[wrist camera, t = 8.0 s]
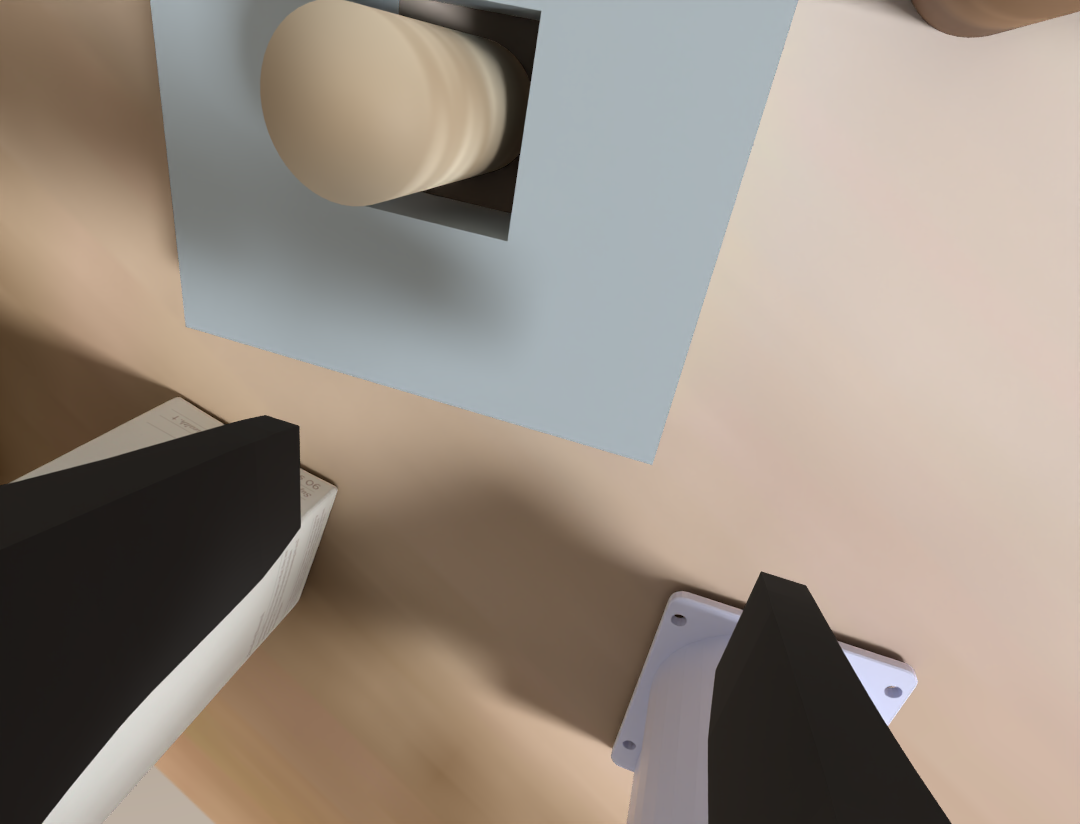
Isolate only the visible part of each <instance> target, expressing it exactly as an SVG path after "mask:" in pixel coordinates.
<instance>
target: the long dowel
mask: <svg viewBox="0 0 1080 824" xmlns="http://www.w3.org/2000/svg"><path fill="white" fill-rule="evenodd" d="M530 85H531V84H530V81H529V78H528V76H527V74H526V72H525V70H524V68H523V66H522V65H521V63H520V62H519V61H518V59H517V58H516V57H515V56H514V55H513V54H512V53H511V52H510V51H509V50H508V49H506V48H505V47H504V46H502V45H500V44H499V43H497V42H494V41H492V40H489V39H486V38H482V37H478V36H475V35H471V34H467V33H464V32H460V31H456V30H453V29H449V28H445V27H442V26H438V25H434V24H431V23H427V22H423V21H420V20H416V19H412V18H409V17H405V16H401V15H398V14H394V13H390V12H387V11H383V10H379V9H376V8H372V7H368V6H365V5H361V4H357V3H354V2H350V1H346V0H316V1H313V2H309V3H307V4H305V5H303V6H301V7H299V8H297V9H296V10H294V11H293V12H292V13H290V14H289V15H288V16H287V17H286V18H285V19H284V20H283V21H282V22H281V23H280V25H279V26H278V27H277V29H276V30H275V32H274V33H273V35H272V37H271V39H270V41H269V43H268V46H267V49H266V52H265V54H264V58H263V63H262V68H261V77H260V96H261V105H262V111H263V115H264V120H265V123H266V127H267V130H268V133H269V135H270V138H271V140H272V142H273V145H274V147H275V148H276V150H277V152H278V154H279V156H280V157H281V159H282V160H283V162H284V163H285V165H286V166H287V168H288V169H289V170H290V171H291V172H292V174H293V175H294V176H295V177H296V178H297V179H298V180H299V181H300V182H301V183H302V184H303V185H305V186H306V187H307V188H308V189H310V190H311V191H312V192H314V193H316V194H317V195H319V196H320V197H322V198H324V199H327V200H329V201H331V202H334V203H337V204H341V205H346V206H368V205H373V204H377V203H380V202H384V201H388V200H391V199H395V198H398V197H402V196H406V195H409V194H413V193H416V192H420V191H424V190H427V189H431V188H434V187H438V186H442V185H445V184H449V183H452V182H456V181H460V180H463V179H467V178H471V177H474V176H478V175H481V174H485V173H489V172H492V171H495V170H498V169H500V168H502V167H504V166H506V165H507V164H509V163H510V162H511V161H512V160H514V159H515V158H516V157H517V156H518V154H519V153H520V152H521V146H522V139H523V133H524V126H525V119H526V112H527V106H528V99H529V92H530Z"/></svg>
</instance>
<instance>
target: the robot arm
mask: <svg viewBox="0 0 1080 824" xmlns="http://www.w3.org/2000/svg"><path fill="white" fill-rule="evenodd" d="M300 528H301V496H300V436H299V426H298V425H295V424H292V423H288V422H285V421H282V420H279V419H276V418H273V417H269V416H266V415H264V416H259V417H254V418H249V419H245V420H241V421H237V422H233V423H230V424H226V425H222V426H218V427H215V428H211V429H208V430H204V431H201V432H197V433H194V434H190V435H187V436H183V437H180V438H177V439H173V440H170V441H166V442H163V443H159V444H156V445H152V446H149V447H145V448H142V449H138V450H135V451H131V452H128V453H124V454H121V455H117V456H114V457H110V458H107V459H103V460H99V461H95V462H91V463H87V464H83V465H80V466H76V467H72V468H68V469H64V470H60V471H56V472H52V473H48V474H45V475H41V476H37V477H33V478H29V479H25V480H21V481H17V482H13V483H8V484H4V485H0V824H42V823H43V822H44V820H45V819H46V818H47V817H48V815H49V814H50V813H51V811H52V810H53V809H54V808H55V806H56V805H57V804H58V803H59V801H60V800H61V799H62V797H63V796H64V795H65V794H66V792H67V791H68V790H69V788H70V787H71V786H72V785H73V784H74V782H75V781H76V780H77V779H78V778H79V776H80V775H81V774H82V773H83V771H84V770H85V769H86V768H87V767H88V765H89V764H90V763H91V762H92V760H93V759H94V758H95V757H96V756H97V754H98V753H99V752H100V751H101V750H102V748H103V747H104V746H105V745H106V743H107V742H108V741H109V740H110V739H111V737H112V736H113V735H114V734H115V733H116V731H117V730H118V729H119V728H120V726H121V725H122V724H123V723H124V722H125V721H126V720H127V719H128V717H129V716H130V715H131V714H132V713H133V712H134V711H135V710H136V709H137V708H138V707H139V705H140V704H141V703H142V702H143V701H144V700H145V699H146V698H147V697H148V696H149V695H150V693H151V692H152V691H153V690H154V689H155V688H156V687H157V686H158V685H159V684H160V683H161V682H162V681H163V680H164V679H165V678H166V677H167V676H168V675H169V674H170V673H171V672H172V671H173V670H174V669H175V668H176V667H177V666H178V665H179V664H180V663H181V662H182V661H183V660H184V659H185V658H186V657H187V656H188V655H189V654H190V653H191V652H192V651H193V650H194V649H195V648H196V647H197V646H198V645H199V644H200V643H201V642H202V641H203V640H204V639H205V638H206V637H207V636H208V635H209V634H210V633H211V632H212V631H213V630H214V629H215V628H216V627H217V626H218V624H219V623H220V622H221V621H222V620H223V619H224V618H225V617H226V616H227V615H228V614H229V613H230V612H231V611H232V610H233V609H234V608H235V607H236V606H237V605H238V604H239V603H240V602H241V601H242V600H243V599H244V598H245V597H246V596H247V595H248V594H249V593H250V592H251V590H252V589H253V588H254V587H255V586H256V585H257V584H258V583H259V582H260V581H261V580H262V579H263V578H264V576H265V575H266V574H267V572H268V571H269V570H270V569H271V567H272V566H273V565H274V563H275V562H276V561H277V560H278V558H279V557H280V556H281V554H282V553H283V552H284V550H285V549H286V547H287V546H288V545H289V543H290V542H291V541H292V539H293V538H294V536H295V535H296V534H297V532H298V531H299V529H300ZM676 614H679V615H682V616H684V618H677V617H676V616H674V615H676ZM917 683H918V681H917V677H916V674H915V671H914V669H913V668H912V667H911V666H910V665H908V664H906V663H904V662H901V661H898V660H895V659H892V658H889V657H885V656H882V655H879V654H876V653H873V652H870V651H867V650H864V649H861V648H858V647H855V646H852V645H849V644H846V643H843V642H839V641H837V639H836V638H835V636H834V634H833V632H832V630H831V629H830V627H829V625H828V623H827V622H826V620H825V618H824V616H823V614H822V613H821V611H820V609H819V607H818V606H817V604H816V602H815V600H814V598H813V597H812V595H811V593H810V592H809V590H808V588H807V586H806V585H802V584H799V583H796V582H793V581H790V580H787V579H783V578H780V577H777V576H774V575H771V574H768V573H764V572H761V573H760V575H759V577H758V579H757V581H756V584H755V586H754V588H753V590H752V592H751V594H750V597H749V599H748V601H747V603H746V605H745V607H744V610H741V609H738V608H735V607H732V606H729V605H726V604H723V603H720V602H717V601H714V600H711V599H708V598H705V597H702V596H699V595H695V594H692V593H689V592H685V591H678V592H675V593H673V594H672V595H671V596H670V598H669V600H668V603H667V605H666V608H665V610H664V613H663V616H662V618H661V621H660V624H659V626H658V629H657V632H656V634H655V637H654V640H653V642H652V645H651V648H650V650H649V653H648V655H647V658H646V661H645V663H644V666H643V669H642V671H641V674H640V677H639V679H638V682H637V685H636V687H635V690H634V693H633V695H632V698H631V701H630V703H629V706H628V708H627V711H626V714H625V716H624V719H623V722H622V724H621V727H620V730H619V732H618V735H617V738H616V740H615V743H614V746H613V748H612V754H611V758H612V760H613V762H614V763H615V764H616V765H618V766H620V767H622V768H625V769H627V770H630V771H633V772H634V777H633V784H632V790H631V797H630V804H629V811H628V817H627V824H951V822H950V821H949V819H948V818H947V816H946V815H945V813H944V812H943V810H942V809H941V807H940V806H939V804H938V803H937V801H936V800H935V798H934V797H933V795H932V794H931V792H930V791H929V789H928V788H927V786H926V785H925V784H924V782H923V781H922V779H921V778H920V776H919V775H918V773H917V772H916V770H915V769H914V767H913V765H912V764H911V762H910V761H909V759H908V758H907V756H906V755H905V753H904V751H903V750H902V748H901V747H900V745H899V744H898V742H897V740H896V739H895V737H894V736H893V734H892V732H891V731H890V729H889V728H888V725H889V724H890V722H891V721H892V719H893V718H894V717H895V715H896V714H897V712H898V711H899V710H900V708H901V707H902V705H903V704H904V703H905V701H906V700H907V698H908V697H909V696H910V694H911V693H912V691H913V690H914V689H915V687H916V685H917ZM889 686H896V687H895V688H887V687H889Z"/></svg>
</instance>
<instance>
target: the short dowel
mask: <svg viewBox="0 0 1080 824" xmlns="http://www.w3.org/2000/svg"><path fill="white" fill-rule="evenodd" d="M911 1H912V3H913V5H914V7H915V9H916V11H917V12H918V13H919V14H920V16H921V17H922V18H923V19H924V20H925V21H926V22H927V23H928V24H929V25H931V26H932V27H934V28H935V29H937V30H939V31H941V32H944V33H946V34H949V35H953V36H957V37H967V38H970V37H983V36H989V35H993V34H997V33H1001V32H1004V31H1008V30H1012V29H1016V28H1019V27H1023V26H1027V25H1030V24H1034V23H1038V22H1042V21H1045V20H1049V19H1053V18H1056V17H1060V16H1064V15H1067V14H1071V13H1074V12H1078V11H1080V0H911Z"/></svg>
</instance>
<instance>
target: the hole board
mask: <svg viewBox="0 0 1080 824" xmlns="http://www.w3.org/2000/svg"><path fill="white" fill-rule="evenodd" d="M313 1H316V0H150V4H151V13H152V22H153V31H154V40H155V49H156V59H157V68H158V77H159V86H160V95H161V104H162V113H163V123H164V132H165V141H166V150H167V159H168V168H169V177H170V186H171V196H172V205H173V214H174V223H175V232H176V241H177V250H178V259H179V269H180V278H181V287H182V296H183V305H184V314H185V323H186V327H189V328H192V329H195V330H199V331H202V332H205V333H209V334H212V335H216V336H219V337H222V338H226V339H229V340H232V341H236V342H239V343H243V344H246V345H249V346H253V347H256V348H259V349H263V350H266V351H270V352H273V353H276V354H280V355H283V356H286V357H290V358H293V359H297V360H300V361H303V362H307V363H310V364H313V365H317V366H320V367H324V368H327V369H330V370H334V371H337V372H340V373H344V374H347V375H351V376H354V377H357V378H361V379H364V380H367V381H371V382H374V383H378V384H381V385H384V386H388V387H391V388H394V389H398V390H401V391H405V392H408V393H411V394H415V395H418V396H421V397H425V398H428V399H432V400H435V401H438V402H442V403H445V404H448V405H452V406H455V407H458V408H462V409H465V410H469V411H472V412H475V413H479V414H482V415H485V416H489V417H492V418H496V419H499V420H502V421H506V422H509V423H512V424H516V425H519V426H523V427H526V428H529V429H533V430H536V431H539V432H543V433H546V434H550V435H553V436H556V437H560V438H563V439H566V440H570V441H573V442H577V443H580V444H583V445H587V446H590V447H593V448H597V449H600V450H604V451H607V452H610V453H614V454H617V455H620V456H624V457H627V458H631V459H634V460H637V461H641V462H644V463H647V464H651V465H652V464H653V461H654V457H655V454H656V451H657V448H658V445H659V442H660V438H661V435H662V432H663V429H664V426H665V423H666V419H667V416H668V413H669V410H670V407H671V403H672V400H673V397H674V394H675V391H676V388H677V384H678V381H679V378H680V375H681V372H682V368H683V365H684V362H685V359H686V356H687V353H688V349H689V346H690V343H691V340H692V337H693V333H694V330H695V327H696V324H697V321H698V318H699V314H700V311H701V308H702V305H703V302H704V298H705V295H706V292H707V289H708V286H709V283H710V279H711V276H712V273H713V270H714V267H715V263H716V260H717V257H718V254H719V251H720V248H721V244H722V241H723V238H724V235H725V232H726V228H727V225H728V222H729V219H730V216H731V213H732V209H733V206H734V203H735V200H736V197H737V193H738V190H739V187H740V184H741V181H742V178H743V174H744V171H745V168H746V165H747V162H748V159H749V155H750V152H751V149H752V146H753V143H754V139H755V136H756V133H757V130H758V127H759V124H760V120H761V117H762V114H763V111H764V108H765V104H766V101H767V98H768V95H769V92H770V89H771V85H772V82H773V79H774V76H775V73H776V69H777V66H778V63H779V60H780V57H781V54H782V50H783V47H784V44H785V41H786V38H787V34H788V31H789V28H790V25H791V22H792V19H793V15H794V12H795V9H796V6H797V3H798V0H431V1H437V2H442V3H447V4H453V5H458V6H464V7H469V8H474V9H480V10H485V11H490V12H496V13H501V14H506V15H512V16H517V17H522V18H528V19H533V20H539V21H540V24H539V31H538V38H537V44H536V51H535V58H534V65H533V72H532V78H531V85H530V92H529V99H528V106H527V112H526V119H525V126H524V133H523V139H522V146H521V153H520V160H519V167H518V173H517V180H516V187H515V194H514V200H513V207H512V214H511V213H507V212H503V211H499V210H494V209H490V208H486V207H482V206H478V205H474V204H469V203H465V202H461V201H457V200H453V199H449V198H444V197H440V196H436V195H432V194H428V193H424V192H416V193H413V194H409V195H406V196H402V197H398V198H395V199H391V200H388V201H384V202H380V203H377V204H373V205H368V206H346V205H341V204H337V203H334V202H331V201H329V200H327V199H324V198H322V197H320V196H319V195H317V194H316V193H314V192H312V191H311V190H310V189H308V188H307V187H306V186H305V185H303V184H302V183H301V182H300V181H299V180H298V179H297V178H296V177H295V176H294V175H293V174H292V172H291V171H290V170H289V169H288V168H287V166H286V165H285V163H284V162H283V160H282V159H281V157H280V156H279V154H278V152H277V150H276V148H275V147H274V145H273V142H272V140H271V138H270V135H269V133H268V130H267V127H266V123H265V120H264V115H263V111H262V105H261V96H260V77H261V68H262V63H263V58H264V54H265V52H266V49H267V46H268V43H269V41H270V39H271V37H272V35H273V33H274V32H275V30H276V29H277V27H278V26H279V25H280V23H281V22H282V21H283V20H284V19H285V18H286V17H287V16H288V15H289V14H290V13H292V12H293V11H294V10H296V9H297V8H299V7H301V6H303V5H305V4H307V3H309V2H313ZM346 1H350V2H354V3H357V4H361V5H365V6H368V7H372V8H376V9H379V10H383V11H387V12H390V13H394V14H398V15H399V0H346Z"/></svg>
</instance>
